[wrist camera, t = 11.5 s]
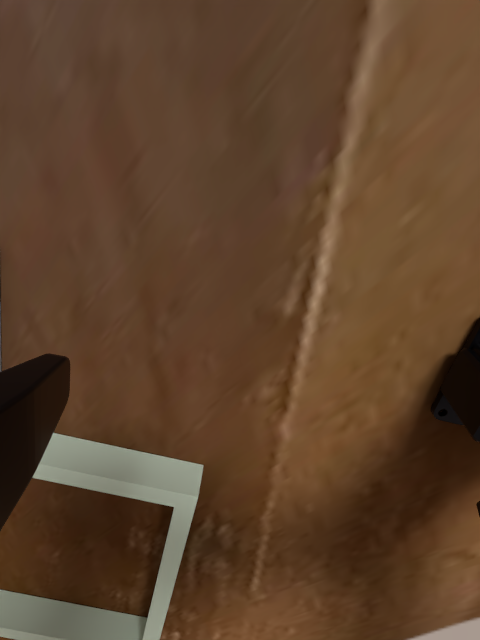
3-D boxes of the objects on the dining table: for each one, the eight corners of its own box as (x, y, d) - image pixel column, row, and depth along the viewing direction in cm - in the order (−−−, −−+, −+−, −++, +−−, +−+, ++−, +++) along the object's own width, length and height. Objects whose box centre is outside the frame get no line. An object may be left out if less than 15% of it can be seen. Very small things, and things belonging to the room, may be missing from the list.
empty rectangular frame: (203, 465, 26) (198, 497, 24) (159, 629, 34) (152, 664, 32) (-93, 401, 25) (-128, 429, 23) (-68, 585, 33) (-93, 619, 31)
